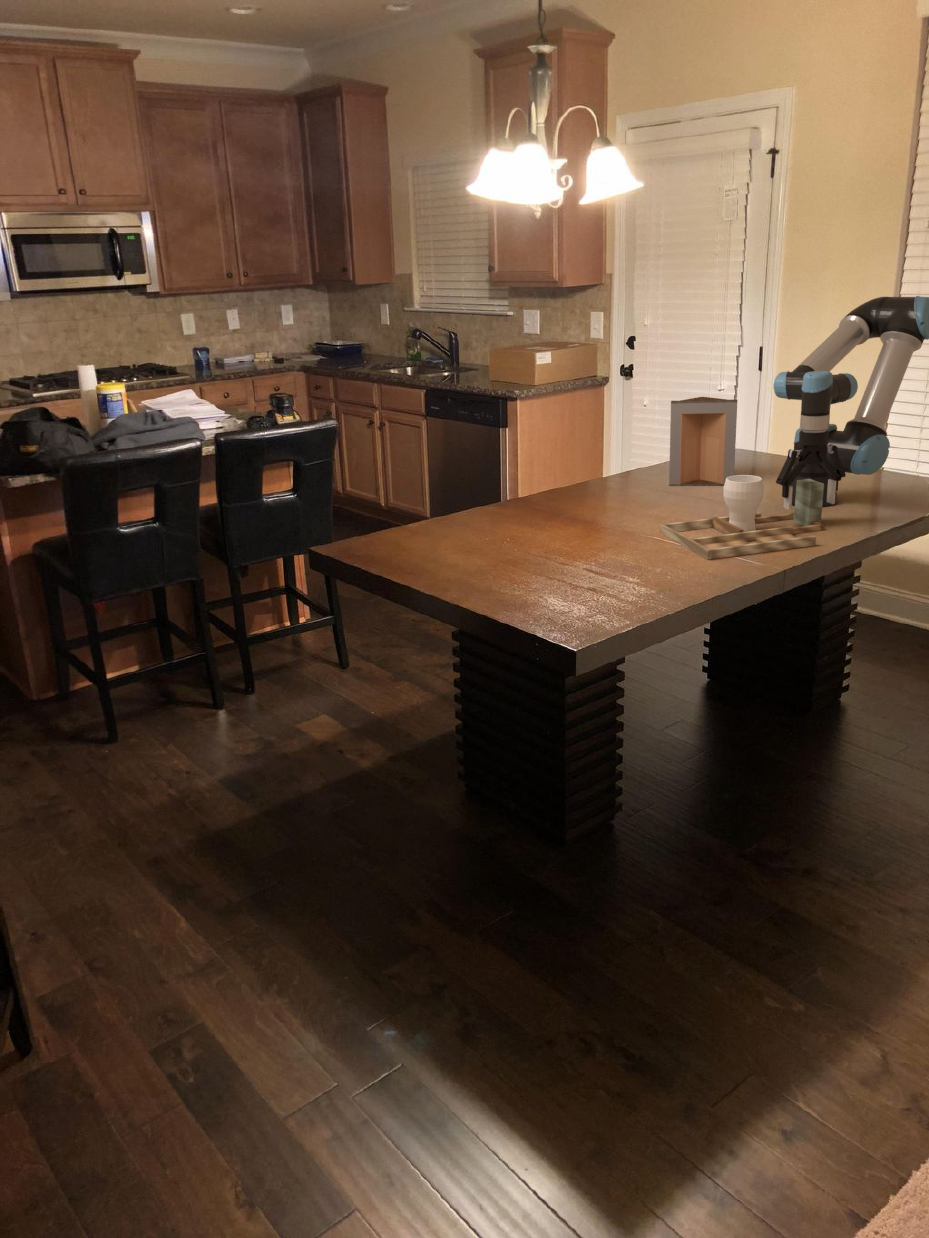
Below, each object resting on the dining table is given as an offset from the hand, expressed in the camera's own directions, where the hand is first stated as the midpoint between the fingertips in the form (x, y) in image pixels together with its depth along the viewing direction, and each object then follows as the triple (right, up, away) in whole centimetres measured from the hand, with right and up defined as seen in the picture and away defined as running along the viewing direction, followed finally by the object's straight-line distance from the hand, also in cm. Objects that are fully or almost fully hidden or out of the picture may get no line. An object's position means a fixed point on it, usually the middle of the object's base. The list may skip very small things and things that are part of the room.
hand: (809, 505), depth 273 cm
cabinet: (-17, +14, +56) cm, 60 cm away
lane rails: (-23, -10, -9) cm, 26 cm away
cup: (-20, -8, -3) cm, 21 cm away
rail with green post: (-12, -7, -1) cm, 14 cm away
